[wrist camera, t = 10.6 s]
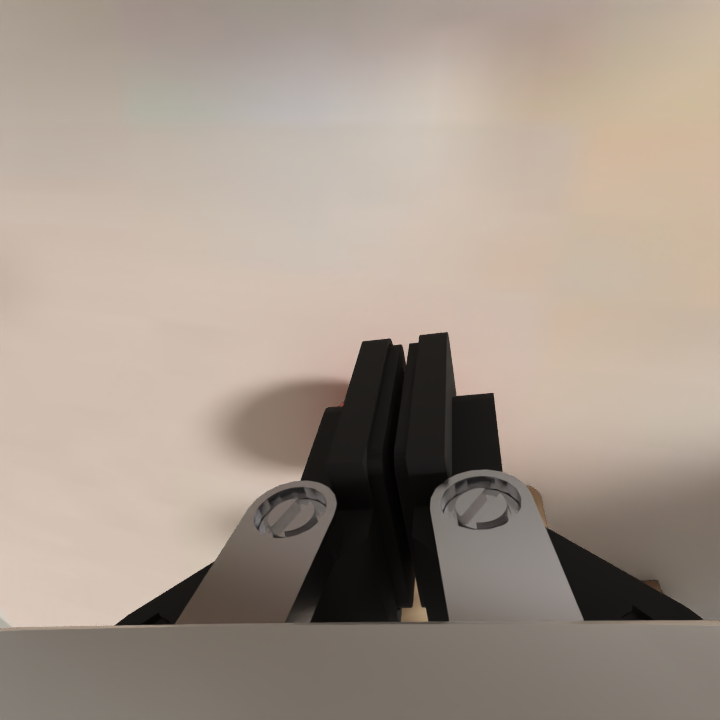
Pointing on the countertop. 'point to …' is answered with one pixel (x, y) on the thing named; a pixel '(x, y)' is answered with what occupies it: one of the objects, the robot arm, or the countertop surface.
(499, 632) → the robot arm
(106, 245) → the countertop surface
